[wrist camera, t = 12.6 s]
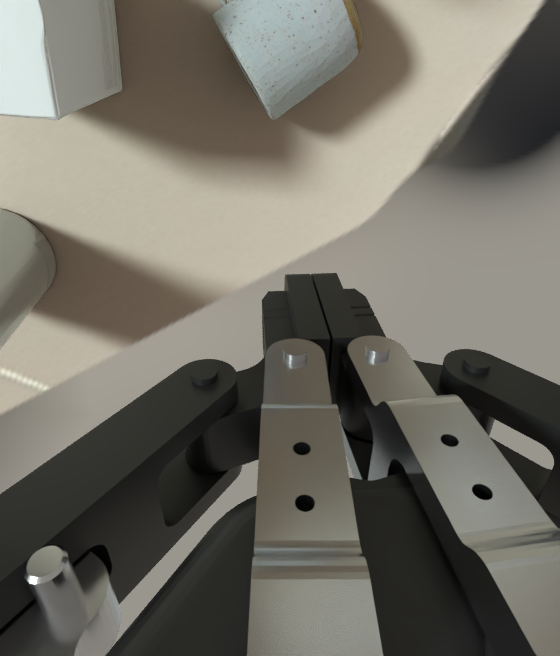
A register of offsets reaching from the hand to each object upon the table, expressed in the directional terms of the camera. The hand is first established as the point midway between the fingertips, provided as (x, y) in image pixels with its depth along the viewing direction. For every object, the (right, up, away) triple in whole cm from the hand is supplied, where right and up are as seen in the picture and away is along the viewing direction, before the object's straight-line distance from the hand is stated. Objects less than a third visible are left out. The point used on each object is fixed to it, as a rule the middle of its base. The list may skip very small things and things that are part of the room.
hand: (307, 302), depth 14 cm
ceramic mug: (-1, +22, +21) cm, 30 cm away
